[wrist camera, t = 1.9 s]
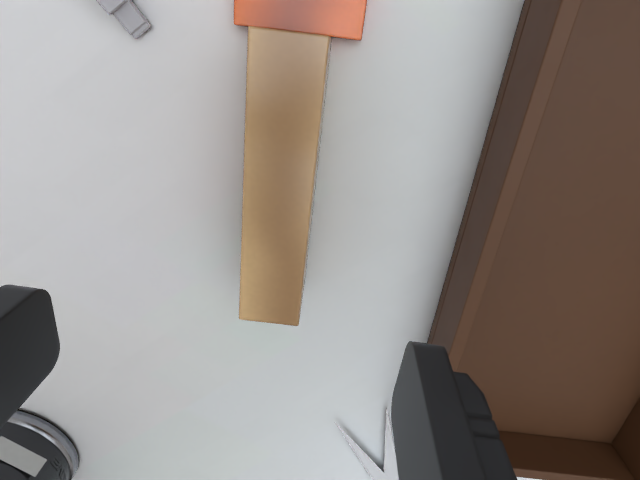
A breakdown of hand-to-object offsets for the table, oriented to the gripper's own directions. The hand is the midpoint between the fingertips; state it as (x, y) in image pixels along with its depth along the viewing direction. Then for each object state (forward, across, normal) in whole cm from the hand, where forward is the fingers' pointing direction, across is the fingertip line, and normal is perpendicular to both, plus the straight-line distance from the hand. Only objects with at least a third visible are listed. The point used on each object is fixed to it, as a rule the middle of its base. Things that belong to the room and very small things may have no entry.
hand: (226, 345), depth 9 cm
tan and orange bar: (+15, +1, -3) cm, 15 cm away
